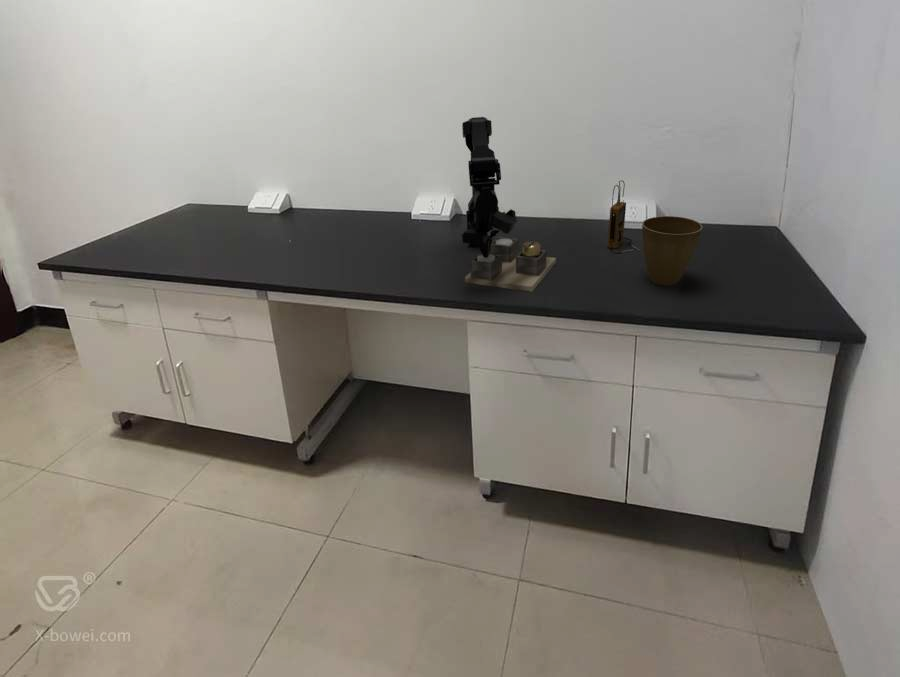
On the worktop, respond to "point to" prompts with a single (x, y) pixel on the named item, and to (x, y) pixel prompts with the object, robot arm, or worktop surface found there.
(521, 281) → the mount
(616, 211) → the multimeter
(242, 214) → the worktop surface
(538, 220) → the worktop surface
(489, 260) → the knob front
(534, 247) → the brass dial
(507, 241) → the knob back
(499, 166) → the robot arm
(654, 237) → the plant pot
